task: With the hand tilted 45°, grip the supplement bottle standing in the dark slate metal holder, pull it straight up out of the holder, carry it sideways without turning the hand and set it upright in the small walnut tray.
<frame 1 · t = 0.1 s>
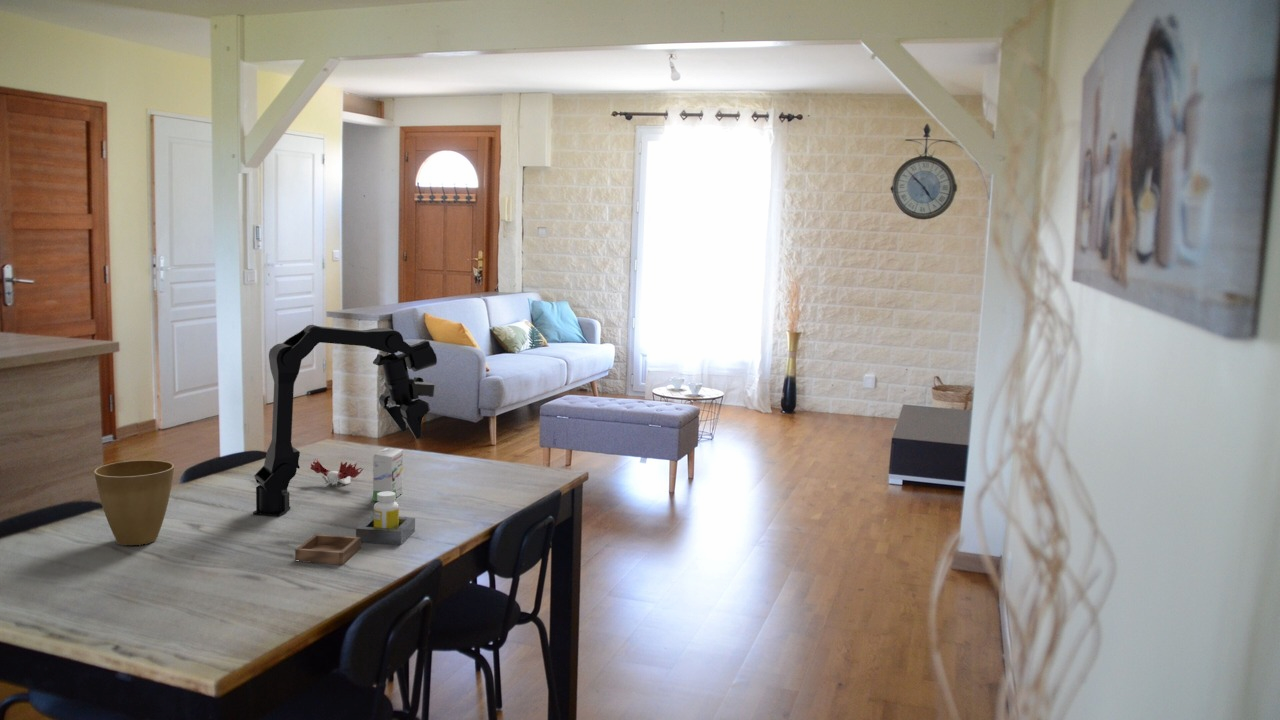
hand: (411, 434, 247), 15 cm above the table, tool pointing down, fingers open, 9 cm apart
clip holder: (386, 536, 216), on the table
ink box: (388, 497, 246), on the table
figurine: (338, 485, 254), on the table
walnut tray: (328, 554, 202), on the table
supplement bottle: (386, 537, 216), resting in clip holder
plant pot: (136, 541, 206), on the table
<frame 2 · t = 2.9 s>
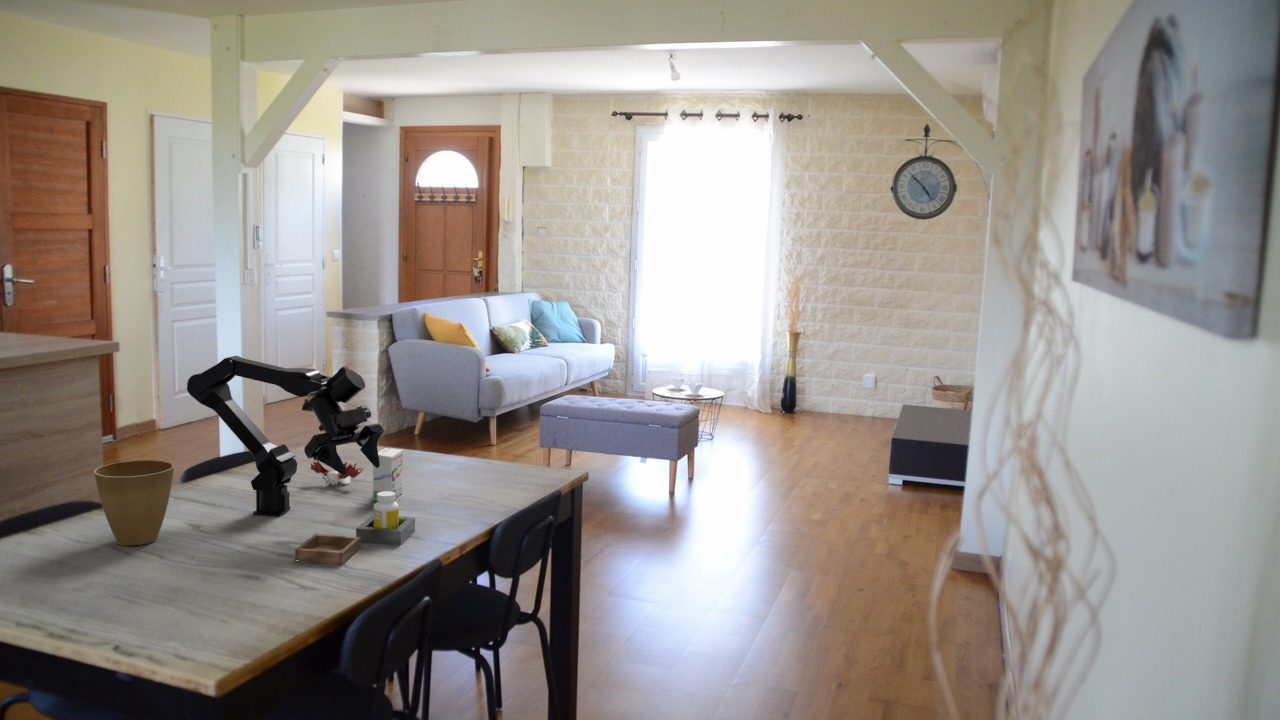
hand: (362, 470, 218), 14 cm above the table, tool tilted 45°, fingers open, 9 cm apart
nothing on the table moved.
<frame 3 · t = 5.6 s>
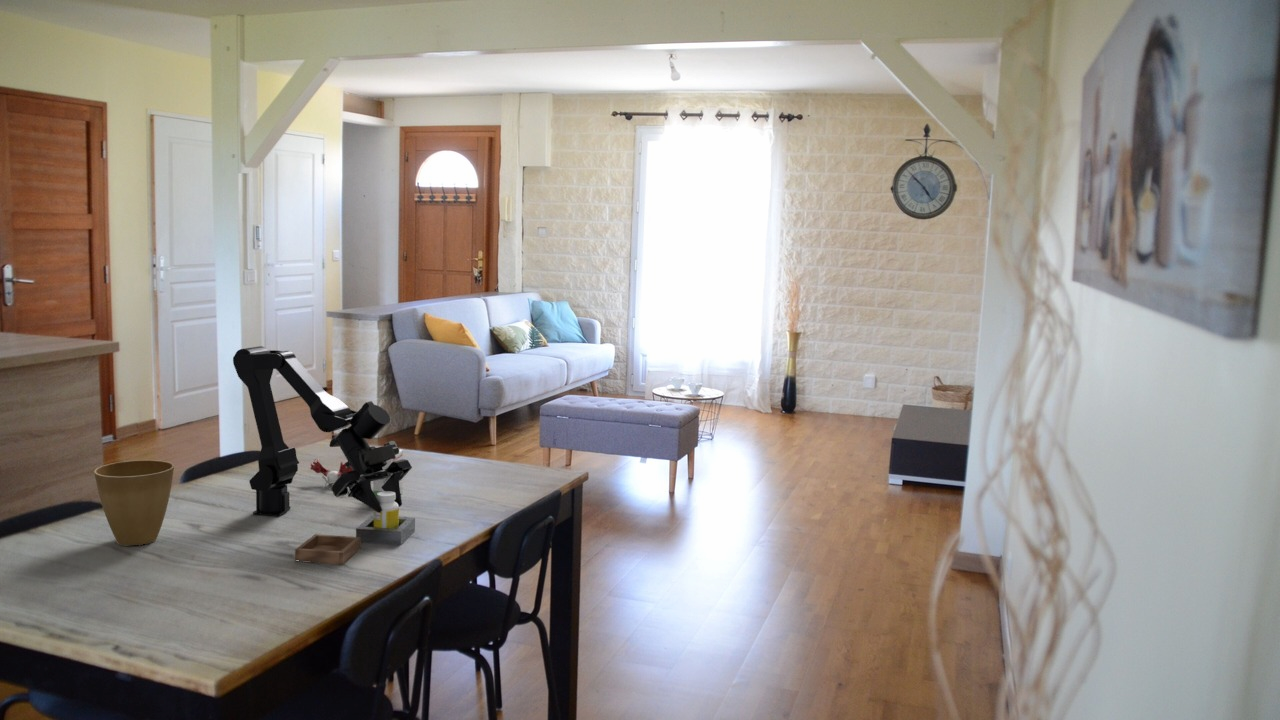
hand: (390, 508, 214), 7 cm above the table, tool tilted 45°, fingers closed on supplement bottle, 5 cm apart
supplement bottle: (386, 537, 216), resting in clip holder, touching gripper
everything else where it was.
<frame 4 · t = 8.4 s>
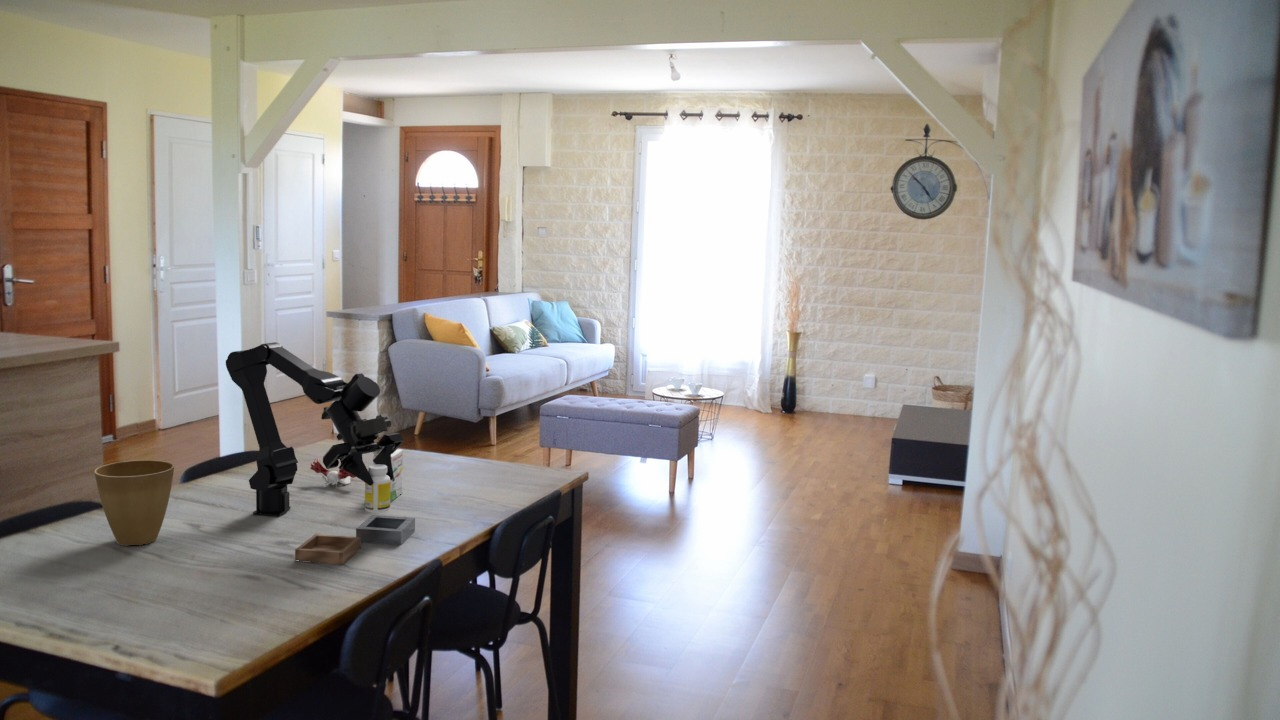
hand: (382, 481, 211), 13 cm above the table, tool tilted 45°, fingers closed on supplement bottle, 5 cm apart
supplement bottle: (377, 510, 213), point 6 cm above the table, touching gripper
everything else where it was.
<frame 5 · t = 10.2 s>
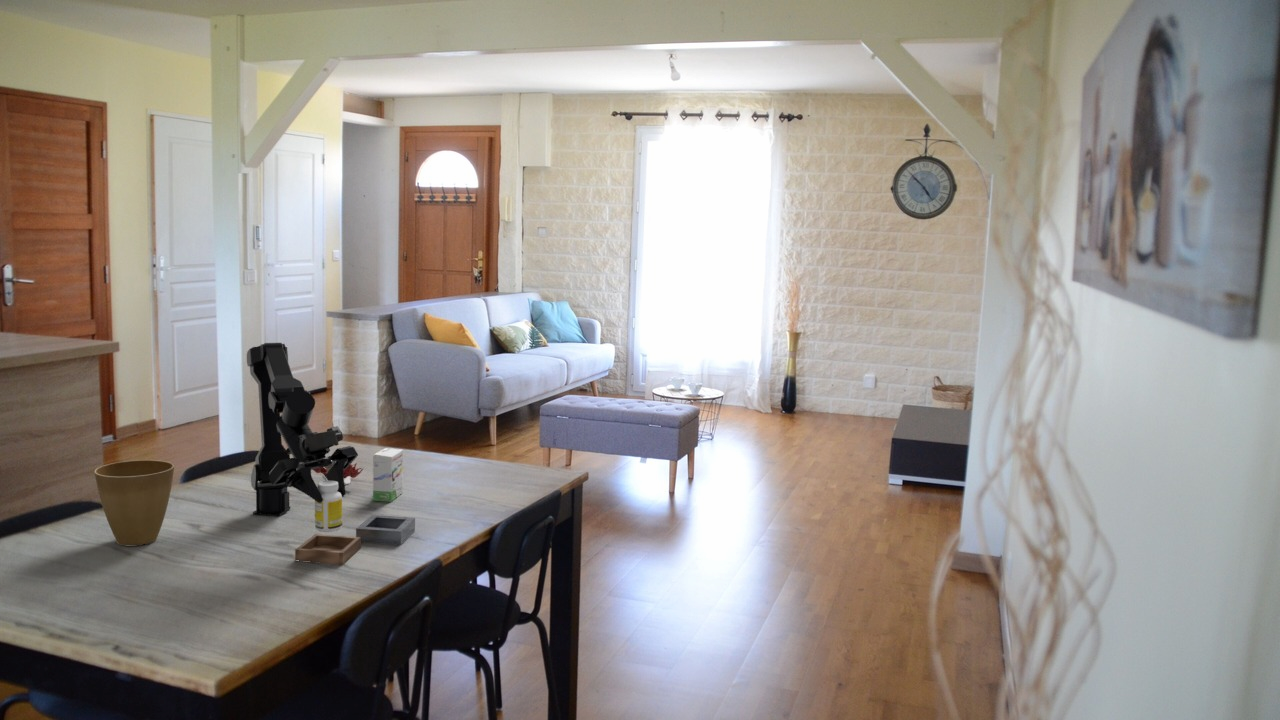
hand: (332, 498, 200), 12 cm above the table, tool tilted 45°, fingers closed on supplement bottle, 5 cm apart
supplement bottle: (328, 529, 202), point 5 cm above the table, touching gripper
everything else where it was.
when the fingers open (8 cm above the table, at t = 11.4 s): supplement bottle drops 1 cm, resting on walnut tray.
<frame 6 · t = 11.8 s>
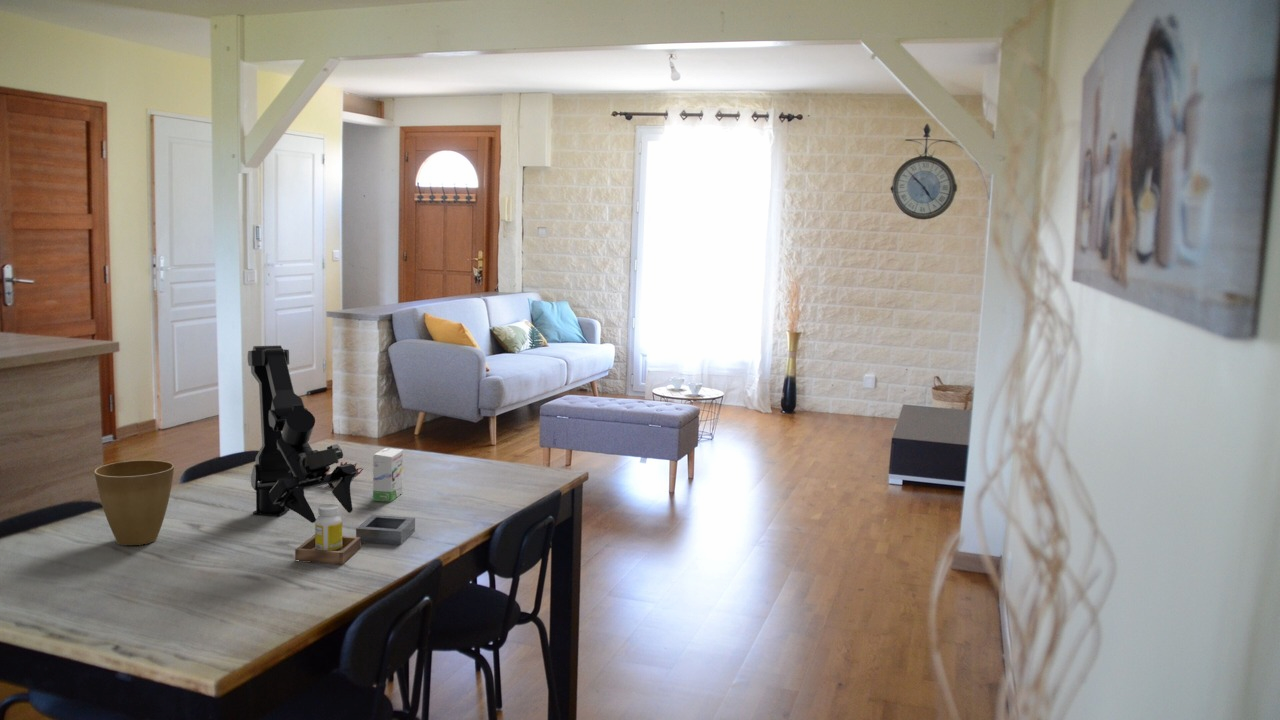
hand: (333, 516, 200), 9 cm above the table, tool tilted 45°, fingers open, 9 cm apart
supplement bottle: (328, 552, 203), resting on walnut tray
everything else where it was.
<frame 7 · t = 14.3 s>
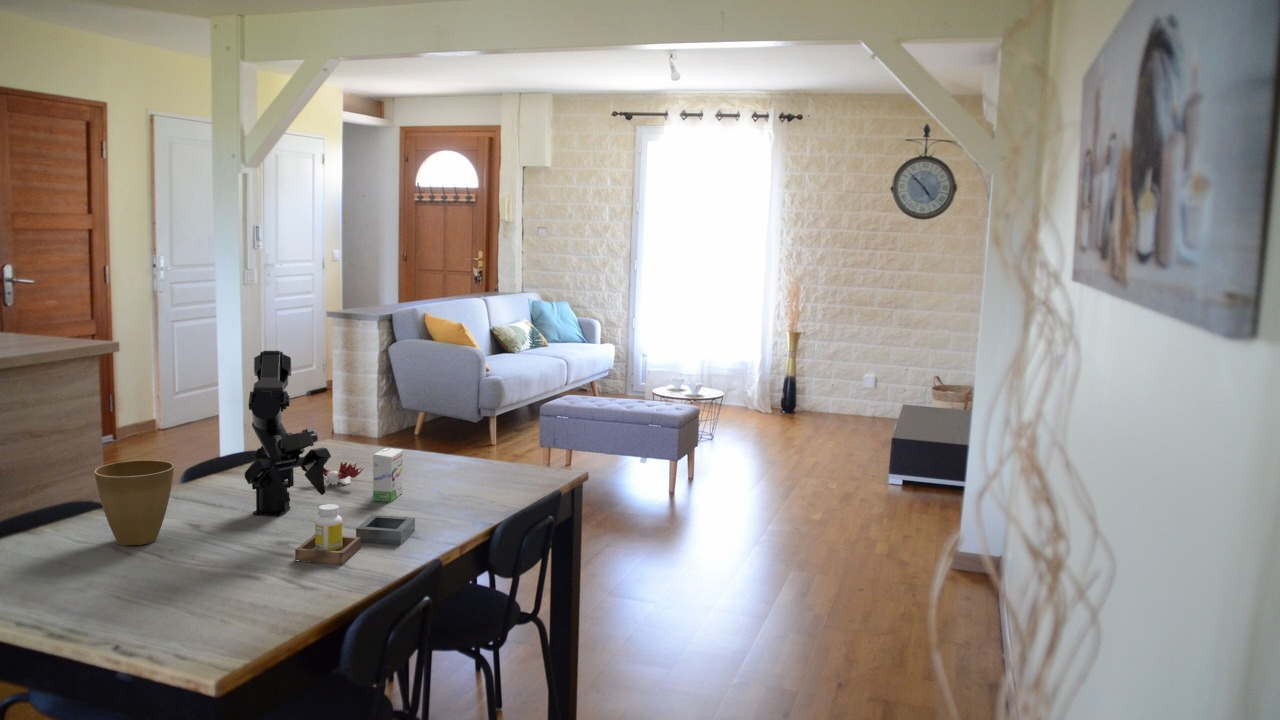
hand: (306, 497, 206), 11 cm above the table, tool tilted 45°, fingers open, 9 cm apart
nothing on the table moved.
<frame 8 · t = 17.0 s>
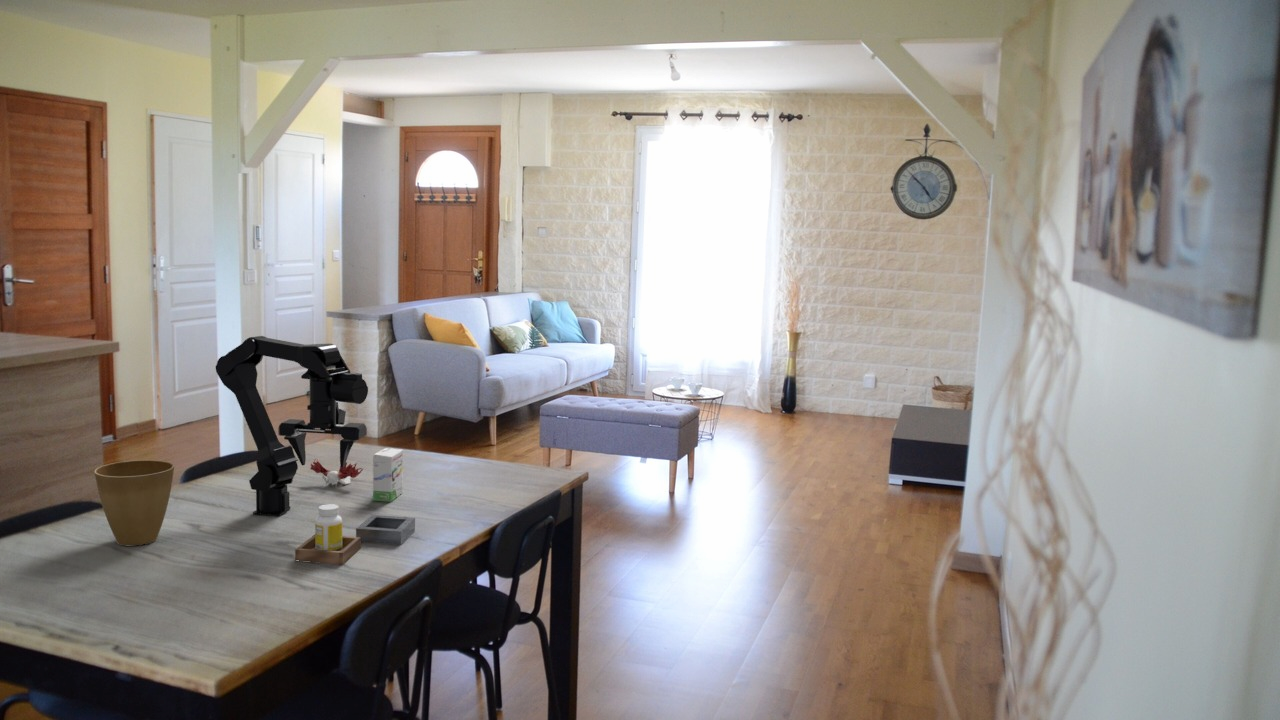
hand: (323, 466, 222), 13 cm above the table, tool pointing down, fingers open, 9 cm apart
nothing on the table moved.
at the end: supplement bottle inside the target area on the walnut tray (0.2 cm from its centre), point 0.3 cm above the walnut tray's base; supplement bottle tilted 0°; the gripper is holding nothing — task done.
